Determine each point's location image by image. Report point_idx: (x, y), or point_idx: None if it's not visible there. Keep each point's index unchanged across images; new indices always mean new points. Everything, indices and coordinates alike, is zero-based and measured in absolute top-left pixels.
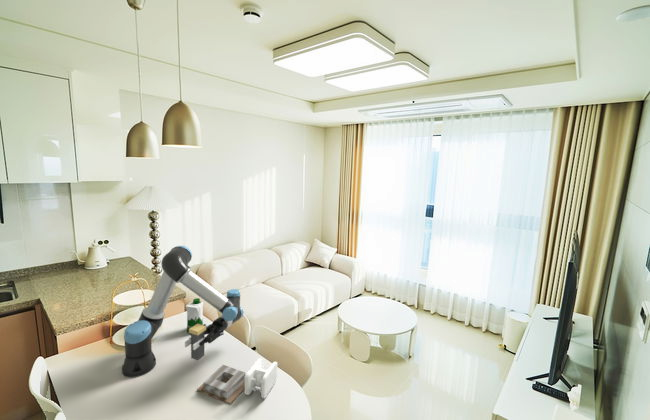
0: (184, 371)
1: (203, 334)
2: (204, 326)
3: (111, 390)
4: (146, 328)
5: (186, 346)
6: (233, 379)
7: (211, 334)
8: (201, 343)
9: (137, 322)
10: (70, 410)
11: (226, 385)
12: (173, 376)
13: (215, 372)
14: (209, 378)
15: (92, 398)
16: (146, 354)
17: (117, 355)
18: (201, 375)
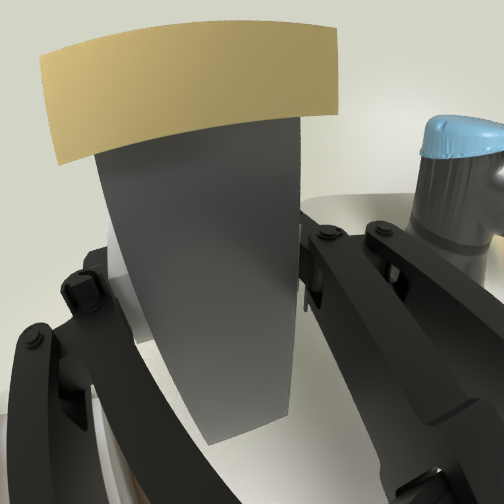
0: (331, 409)
1: (118, 229)
2: (73, 49)
3: (349, 234)
4: (464, 124)
5: None
6: (2, 484)
7: (143, 476)
8: (88, 263)
9: (499, 124)
10: (320, 197)
11: (3, 440)
12: (322, 363)
13: (107, 480)
14: (95, 431)
15: (338, 214)
16: (426, 236)
17: (493, 252)
18: (235, 468)
